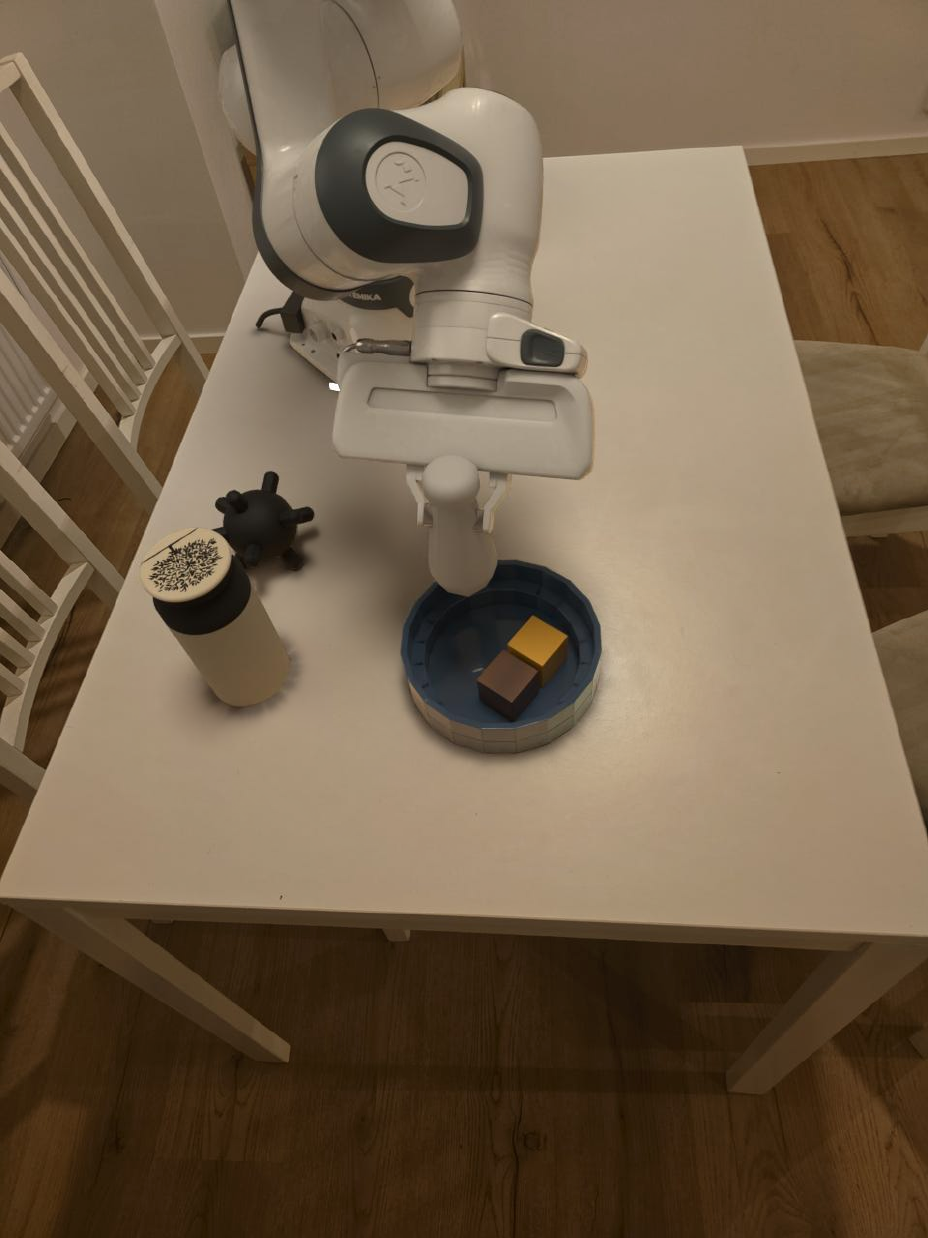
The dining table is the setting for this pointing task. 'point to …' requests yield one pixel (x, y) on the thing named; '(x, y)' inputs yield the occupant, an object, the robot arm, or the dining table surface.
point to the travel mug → (216, 615)
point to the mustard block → (540, 648)
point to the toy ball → (261, 524)
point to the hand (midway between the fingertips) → (455, 529)
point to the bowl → (475, 635)
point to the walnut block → (508, 685)
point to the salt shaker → (457, 527)
